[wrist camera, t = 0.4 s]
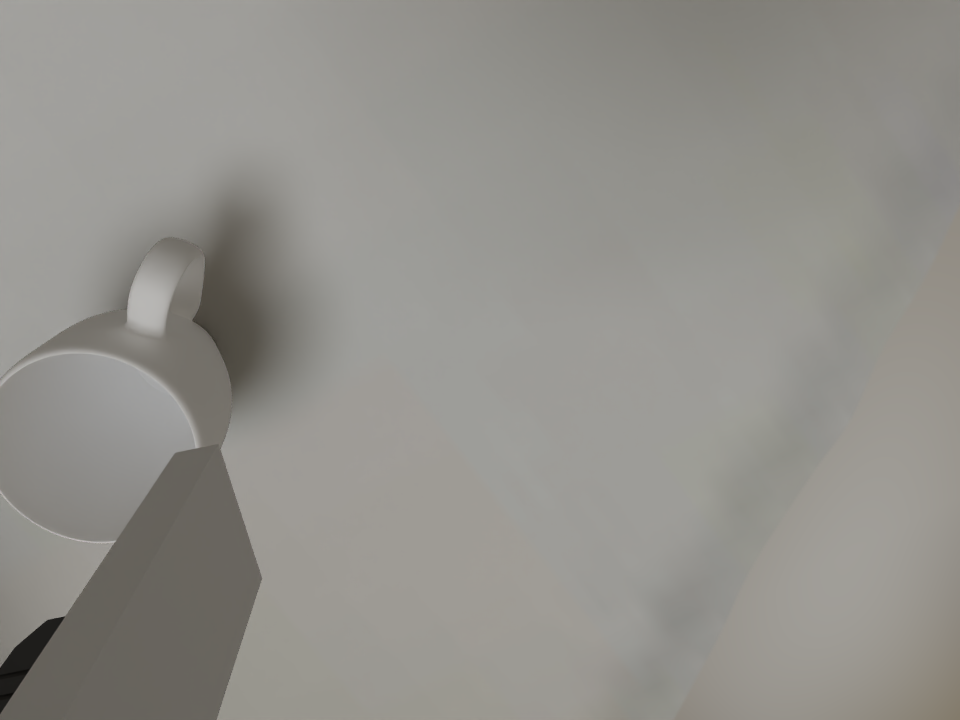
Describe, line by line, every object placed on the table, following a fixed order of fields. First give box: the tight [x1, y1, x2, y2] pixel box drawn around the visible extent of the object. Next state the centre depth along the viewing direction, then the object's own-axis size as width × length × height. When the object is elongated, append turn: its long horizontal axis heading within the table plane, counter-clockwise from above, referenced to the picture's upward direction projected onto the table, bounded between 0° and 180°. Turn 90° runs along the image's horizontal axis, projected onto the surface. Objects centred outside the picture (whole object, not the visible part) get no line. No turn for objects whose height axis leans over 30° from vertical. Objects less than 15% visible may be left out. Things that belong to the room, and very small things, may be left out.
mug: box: [0, 237, 232, 543], centre depth 36 cm, size 12×8×11 cm
